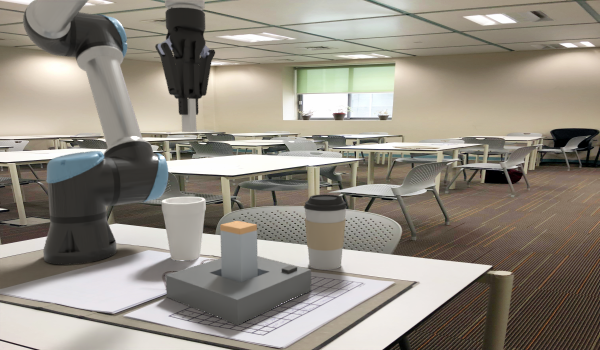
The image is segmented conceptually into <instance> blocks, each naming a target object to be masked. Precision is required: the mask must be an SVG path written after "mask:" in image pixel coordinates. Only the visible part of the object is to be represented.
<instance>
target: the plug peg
mask: <svg viewBox="0 0 600 350" xmlns="http://www.w3.org/2000/svg"><path fill="white" fill-rule="evenodd" d="M219 226H220V227H219V228H220V233H219V234H220V258H221V271H222V277H225V278H228V279H231V280H234V281H237V282H244V281H246V280H249V279H252V278H254V277H257V276H258V259H257V256H258V224H255V223H250V222H247V221H246V222H245V221H242V220H241V221H240V220H235V221H231V222H230V221H229V222H226V223H222V224H219Z"/></svg>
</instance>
